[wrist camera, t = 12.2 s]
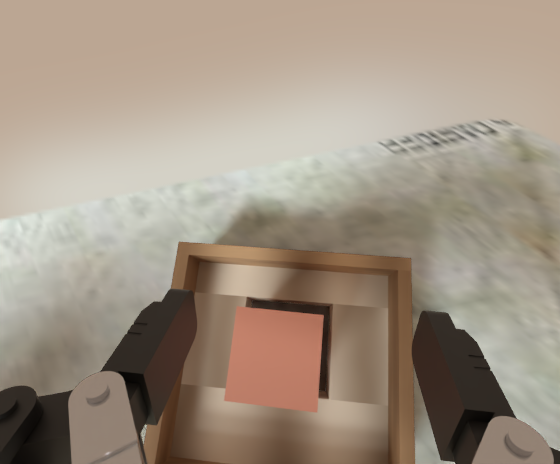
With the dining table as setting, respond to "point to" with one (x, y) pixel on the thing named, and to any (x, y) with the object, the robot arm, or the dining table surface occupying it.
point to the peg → (275, 359)
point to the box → (340, 361)
